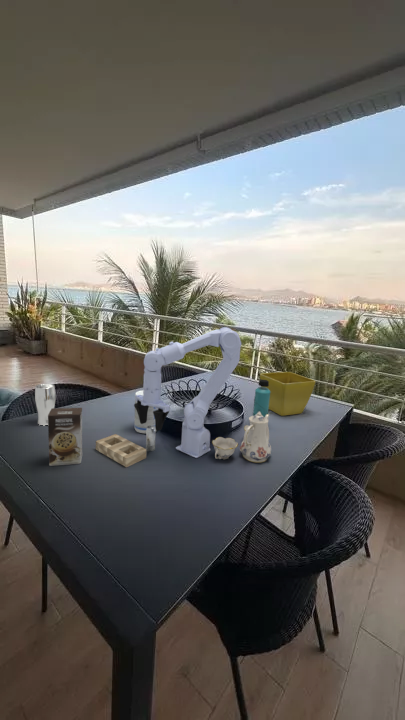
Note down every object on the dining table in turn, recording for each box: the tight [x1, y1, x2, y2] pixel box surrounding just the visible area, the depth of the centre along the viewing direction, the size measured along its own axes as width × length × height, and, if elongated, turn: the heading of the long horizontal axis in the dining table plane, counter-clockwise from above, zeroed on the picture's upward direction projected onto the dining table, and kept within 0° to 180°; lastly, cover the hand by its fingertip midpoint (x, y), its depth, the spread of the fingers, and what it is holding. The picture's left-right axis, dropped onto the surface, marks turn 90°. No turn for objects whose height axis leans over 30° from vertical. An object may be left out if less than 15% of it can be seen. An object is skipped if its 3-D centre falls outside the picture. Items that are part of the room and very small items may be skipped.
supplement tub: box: [133, 390, 158, 434], centre depth 124 cm, size 10×10×15 cm
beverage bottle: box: [252, 379, 270, 418], centre depth 133 cm, size 6×7×20 cm
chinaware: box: [211, 411, 272, 463], centre depth 110 cm, size 28×17×17 cm, turn 141°
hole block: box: [95, 433, 147, 468], centre depth 105 cm, size 16×8×3 cm, turn 52°
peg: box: [145, 425, 156, 452], centre depth 109 cm, size 3×3×8 cm
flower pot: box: [259, 371, 316, 417], centre depth 154 cm, size 19×19×17 cm
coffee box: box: [47, 407, 83, 467], centre depth 98 cm, size 9×6×16 cm
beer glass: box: [34, 383, 56, 427], centre depth 124 cm, size 7×7×15 cm
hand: (150, 426), depth 108 cm, fingers open, 7 cm apart
